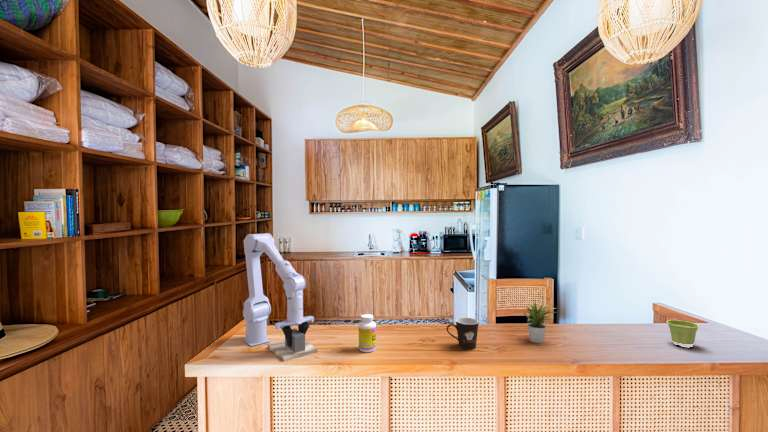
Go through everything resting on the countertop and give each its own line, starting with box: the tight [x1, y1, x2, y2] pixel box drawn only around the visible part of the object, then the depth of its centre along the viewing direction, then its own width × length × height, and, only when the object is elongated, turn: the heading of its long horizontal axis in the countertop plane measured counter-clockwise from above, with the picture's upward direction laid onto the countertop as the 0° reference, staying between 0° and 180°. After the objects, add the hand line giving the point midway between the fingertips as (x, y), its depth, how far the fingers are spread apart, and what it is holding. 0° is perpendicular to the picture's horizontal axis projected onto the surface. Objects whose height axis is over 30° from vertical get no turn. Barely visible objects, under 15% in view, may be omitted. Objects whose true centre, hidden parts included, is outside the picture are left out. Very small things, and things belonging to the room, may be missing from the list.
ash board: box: [267, 339, 318, 362], centre depth 130 cm, size 16×13×1 cm
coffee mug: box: [446, 317, 480, 351], centre depth 132 cm, size 12×9×10 cm
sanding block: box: [284, 327, 306, 354], centre depth 128 cm, size 9×4×6 cm, turn 39°
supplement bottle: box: [358, 313, 377, 353], centre depth 129 cm, size 7×7×13 cm
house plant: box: [521, 299, 558, 344], centre depth 136 cm, size 14×14×16 cm
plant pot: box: [666, 319, 700, 344], centre depth 131 cm, size 9×9×9 cm
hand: (295, 344), depth 127 cm, fingers closed on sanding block, 4 cm apart
